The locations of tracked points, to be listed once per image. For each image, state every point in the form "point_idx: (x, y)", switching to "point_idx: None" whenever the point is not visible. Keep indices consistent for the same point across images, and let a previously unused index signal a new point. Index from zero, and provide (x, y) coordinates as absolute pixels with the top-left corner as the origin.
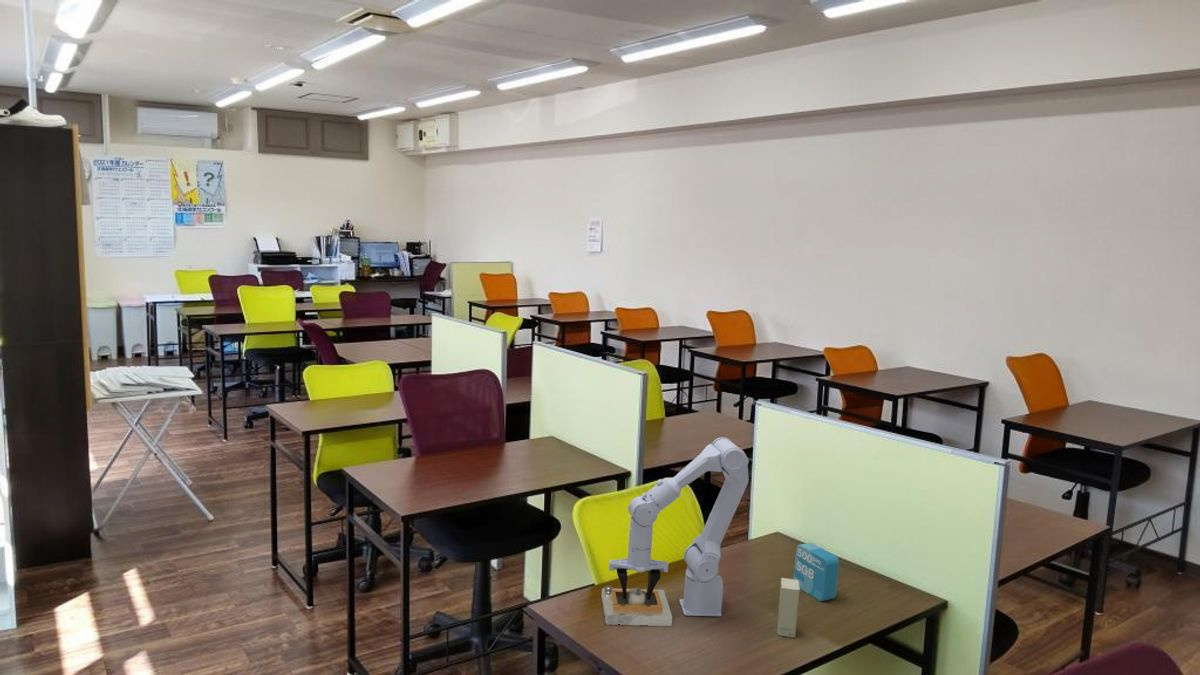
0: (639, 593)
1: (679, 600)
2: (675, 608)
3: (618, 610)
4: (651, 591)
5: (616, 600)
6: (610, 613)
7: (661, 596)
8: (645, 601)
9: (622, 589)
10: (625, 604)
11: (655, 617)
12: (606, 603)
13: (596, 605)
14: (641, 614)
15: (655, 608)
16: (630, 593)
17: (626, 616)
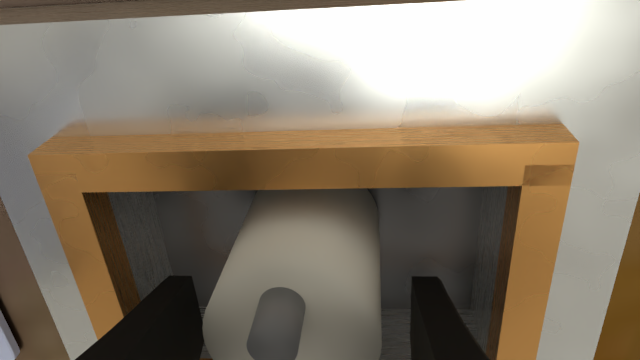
0: (263, 305)
1: (14, 350)
2: (30, 273)
3: (510, 110)
4: (116, 331)
5: (516, 255)
6: (627, 33)
7: None
8: None
9: (484, 353)
10: (431, 182)
11: (108, 15)
12: (606, 238)
13: (615, 290)
14: (257, 45)
15: (109, 146)
16: (370, 318)
17: (432, 1)
